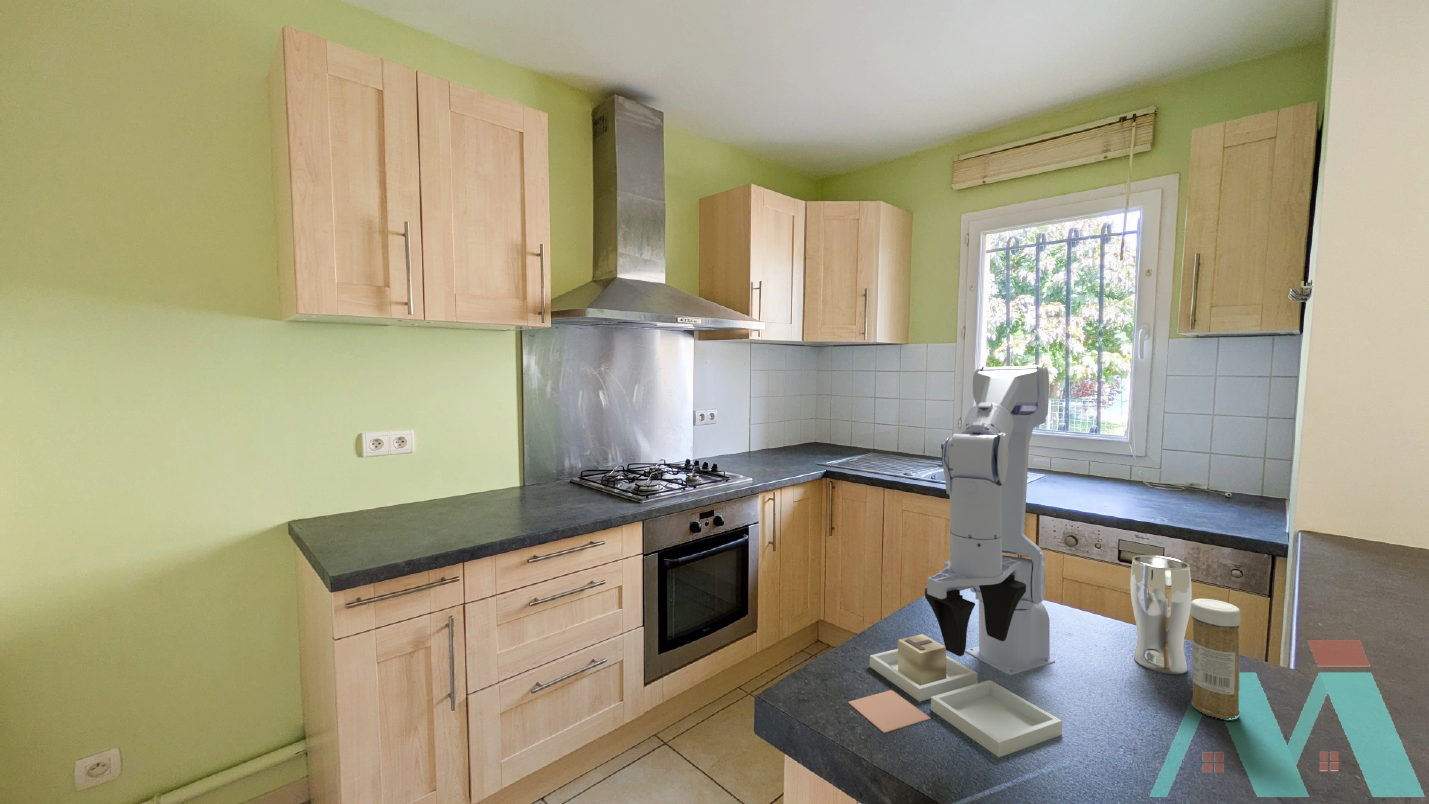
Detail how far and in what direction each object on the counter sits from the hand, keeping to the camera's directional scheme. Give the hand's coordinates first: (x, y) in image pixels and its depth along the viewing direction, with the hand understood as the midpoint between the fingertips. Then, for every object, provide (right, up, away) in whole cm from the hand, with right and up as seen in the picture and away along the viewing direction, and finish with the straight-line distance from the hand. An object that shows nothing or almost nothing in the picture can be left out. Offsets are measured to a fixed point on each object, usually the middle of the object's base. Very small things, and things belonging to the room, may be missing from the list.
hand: (976, 645), depth 68 cm
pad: (-10, -10, +2) cm, 14 cm away
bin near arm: (-3, -9, +11) cm, 14 cm away
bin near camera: (+2, -9, 0) cm, 10 cm away
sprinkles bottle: (+30, -9, +2) cm, 32 cm away
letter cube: (-3, -9, +11) cm, 14 cm away
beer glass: (+33, -9, +14) cm, 37 cm away
